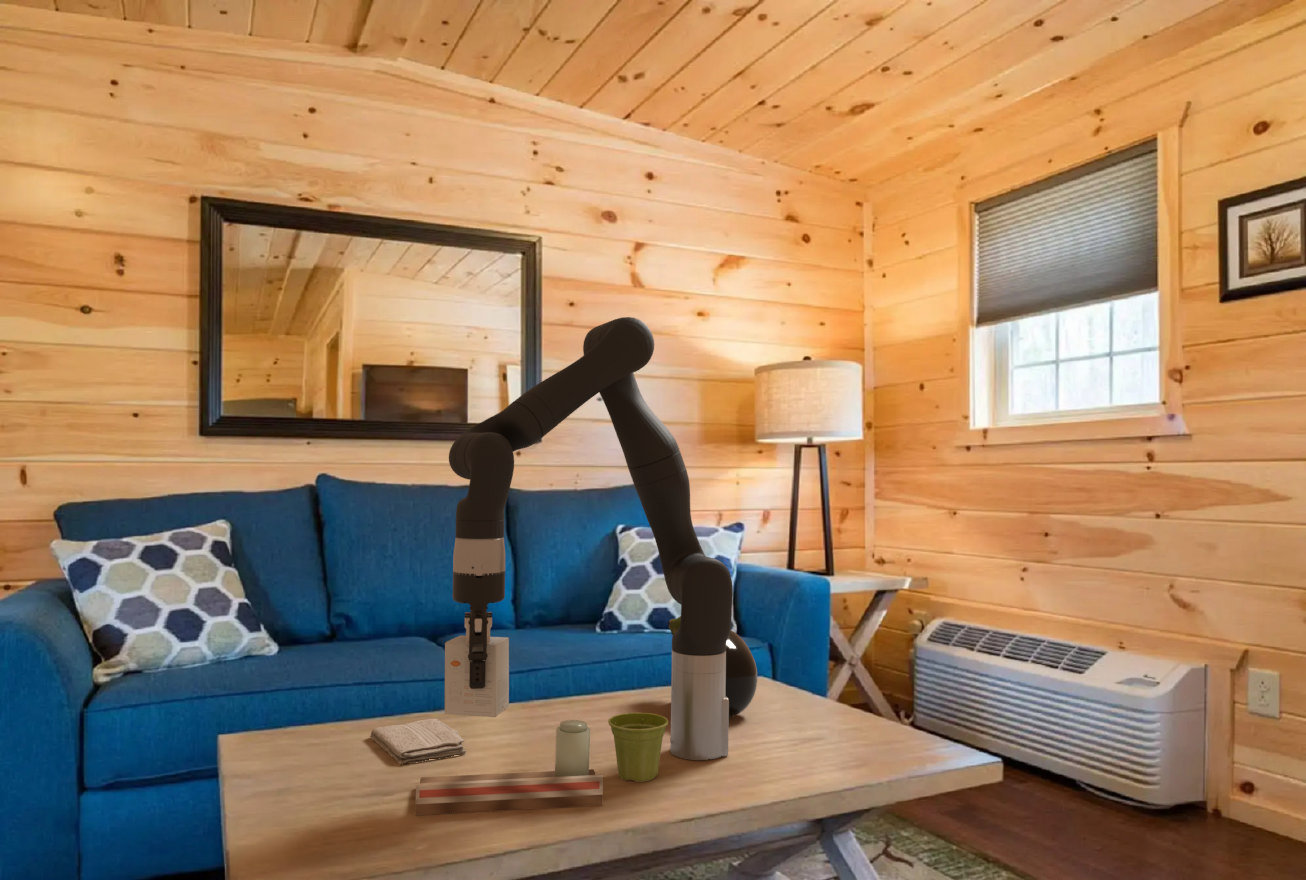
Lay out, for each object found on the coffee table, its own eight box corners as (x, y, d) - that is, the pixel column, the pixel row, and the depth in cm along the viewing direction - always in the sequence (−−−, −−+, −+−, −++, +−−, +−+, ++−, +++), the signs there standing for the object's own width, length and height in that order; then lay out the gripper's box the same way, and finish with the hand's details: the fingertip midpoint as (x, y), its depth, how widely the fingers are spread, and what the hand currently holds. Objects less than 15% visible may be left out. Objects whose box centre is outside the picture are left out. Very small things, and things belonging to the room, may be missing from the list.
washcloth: (400, 769, 148) (401, 750, 148) (367, 740, 163) (367, 723, 163) (471, 757, 154) (471, 738, 155) (432, 730, 169) (433, 713, 169)
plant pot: (623, 790, 139) (624, 731, 139) (597, 770, 147) (598, 716, 147) (678, 780, 143) (679, 724, 143) (650, 762, 151) (651, 709, 152)
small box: (509, 708, 138) (510, 636, 138) (495, 718, 132) (497, 644, 132) (458, 704, 139) (459, 634, 139) (443, 714, 134) (444, 641, 134)
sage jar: (585, 776, 140) (587, 718, 140) (590, 788, 135) (592, 727, 135) (552, 778, 139) (554, 719, 139) (556, 790, 134) (558, 728, 134)
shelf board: (593, 778, 143) (593, 752, 143) (602, 805, 132) (603, 777, 133) (420, 787, 139) (421, 760, 139) (415, 815, 128) (415, 786, 128)
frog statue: (690, 750, 175) (642, 682, 197) (763, 737, 181) (708, 673, 203) (699, 660, 170) (648, 601, 192) (774, 650, 176) (716, 594, 198)
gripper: (454, 563, 142) (452, 671, 142) (451, 574, 128) (449, 695, 128) (504, 562, 144) (502, 670, 143) (506, 574, 130) (504, 693, 129)
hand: (477, 681), depth 136 cm, fingers closed on small box, 7 cm apart
